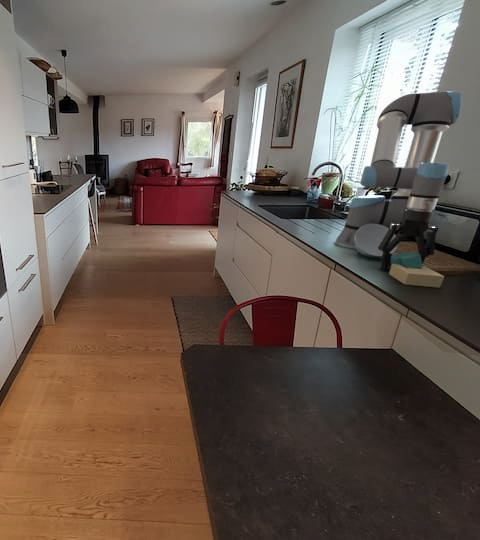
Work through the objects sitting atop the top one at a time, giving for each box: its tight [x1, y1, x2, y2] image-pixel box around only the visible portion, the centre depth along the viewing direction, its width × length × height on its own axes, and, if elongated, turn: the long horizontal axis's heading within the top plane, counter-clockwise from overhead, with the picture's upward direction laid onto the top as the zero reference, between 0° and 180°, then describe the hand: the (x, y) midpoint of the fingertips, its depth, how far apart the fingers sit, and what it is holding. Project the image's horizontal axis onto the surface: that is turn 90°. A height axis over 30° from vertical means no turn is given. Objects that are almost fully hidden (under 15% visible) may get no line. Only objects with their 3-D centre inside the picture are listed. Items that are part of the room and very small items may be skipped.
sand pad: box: [388, 264, 445, 289], centre depth 110 cm, size 10×10×4 cm
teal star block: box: [387, 251, 424, 270], centre depth 117 cm, size 11×8×4 cm
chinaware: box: [354, 224, 398, 259], centre depth 136 cm, size 15×15×8 cm
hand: (398, 270), depth 119 cm, fingers closed on teal star block, 9 cm apart
